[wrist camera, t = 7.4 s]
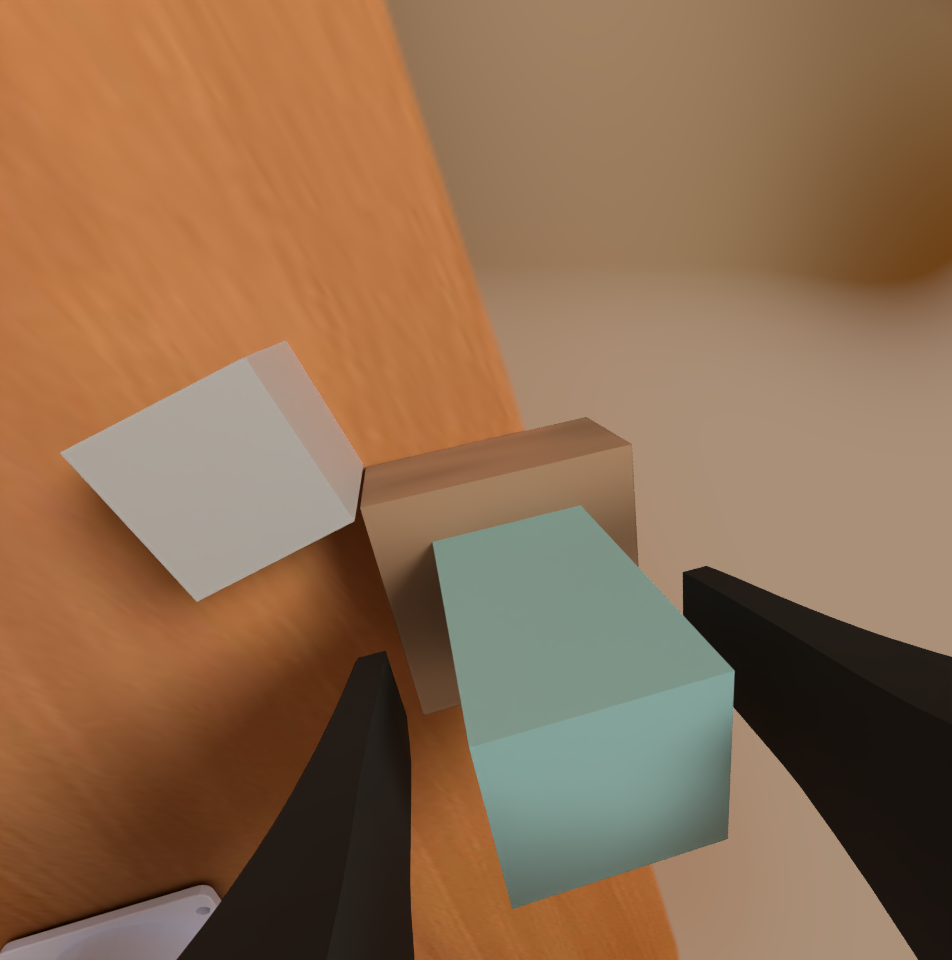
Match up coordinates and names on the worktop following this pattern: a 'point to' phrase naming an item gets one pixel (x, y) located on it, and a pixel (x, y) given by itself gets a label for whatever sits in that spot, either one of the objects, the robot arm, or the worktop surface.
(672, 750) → the teal block
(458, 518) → the brown wooden square block
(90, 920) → the robot arm
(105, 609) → the worktop surface
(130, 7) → the worktop surface
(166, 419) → the grey block
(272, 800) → the worktop surface
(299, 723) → the worktop surface
